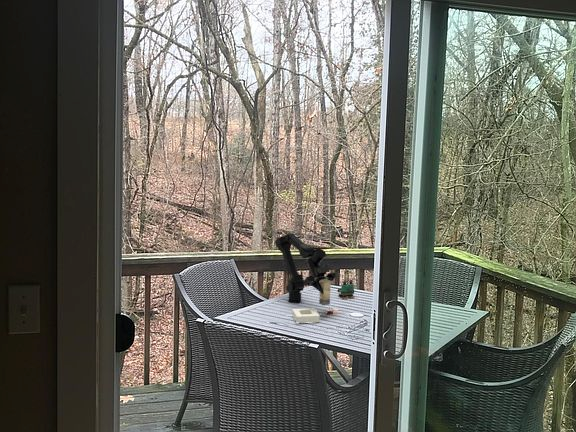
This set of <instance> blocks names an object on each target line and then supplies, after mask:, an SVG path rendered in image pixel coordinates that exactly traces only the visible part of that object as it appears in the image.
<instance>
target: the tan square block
mask: <svg viewBox="0 0 576 432" xmlns="http://www.w3.org/2000/svg"><path fill="white" fill-rule="evenodd" d="M331 282H332V281H330V280H327V279H323V280H320V285H321V287H322V289H323V292H324V293H323V294H322V293H321V292H320V291H319V298H318V299H319V301H318V304H320V305H322V306H329V305H331Z"/></svg>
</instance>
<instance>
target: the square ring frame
mask: <svg viewBox="0 0 576 432" xmlns="http://www.w3.org/2000/svg"><path fill="white" fill-rule="evenodd" d="M292 315H293V317H294V319H295V320H296V322H319V323H320V314H319V313H318V311H317V309H316V308H315V307H304V308H292V309H291V316H292ZM293 317H292V318H293ZM294 319H293V320H294ZM295 320H294V321H295ZM296 322H295V323H296Z"/></svg>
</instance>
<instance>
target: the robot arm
mask: <svg viewBox="0 0 576 432" xmlns="http://www.w3.org/2000/svg"><path fill="white" fill-rule="evenodd" d="M275 245H276V248H277V250H278V251H279V252H280V253H281V254H282V258H283V259H284V263H285V266H286V269H287V272H288V275H289V277H288V280H287V281H288V284H287V285H286V287H285V291H287V292H288V301H287V302H288V303H293V304H294V303H296V304H300V303H301V300H302V291H304V288H305V287H307V286H310V287H313V288H314V289H315V290H317V292H319V293H320V292H321V293H322V294H323V293H324V292H323V289H322V287H321V285H320V280H323V279H327V280H330V281H331V282H333V281H334V280H335V279H336V278H337V276H338V275H337V273H336V272H335V271H331V270H332V267H331V265H330V263H329V264H326V265H324V266H322V265H320V264H321V262H322V261H323V260H324V259H325V257H327V252H326V251H324V249H322V248H321V247H320V246H319V247H316V248H314V247H313V246H312V245H309V244H306V243H304V242H303V241H302V240H301V239H299V237H297V236H296V234H294V233H286V234H285V235H283V236H280V237H276V239H275ZM292 246H293V247H294V248H295V249H296V250H298V251H299V252H298V253H299V255H300V256H301V258H303V259H306V260H305V262H304V265H305V266H306V265H308V268H309V274H310V275H309V276H306V277H305V279H304V276H303V274H300V273H299V272H298V270H297V267H296V264H295V261H294V257H293V255H292V252H291V251H292V250H291V247H292ZM330 271H331V272H330Z"/></svg>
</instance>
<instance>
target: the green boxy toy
mask: <svg viewBox="0 0 576 432" xmlns="http://www.w3.org/2000/svg"><path fill="white" fill-rule="evenodd" d="M353 281H354V280H353V279H350V280H349V281H348V282H349V283H348V284H347V281H344V280H343V281H342V284H341V286H340V287H341V288H338V289H337V293H338V297H341V298H342V300H347V299H348V297H349V299H354V297H355V296H354V294H355V285H354V284H355V283H354V282H353Z"/></svg>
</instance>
